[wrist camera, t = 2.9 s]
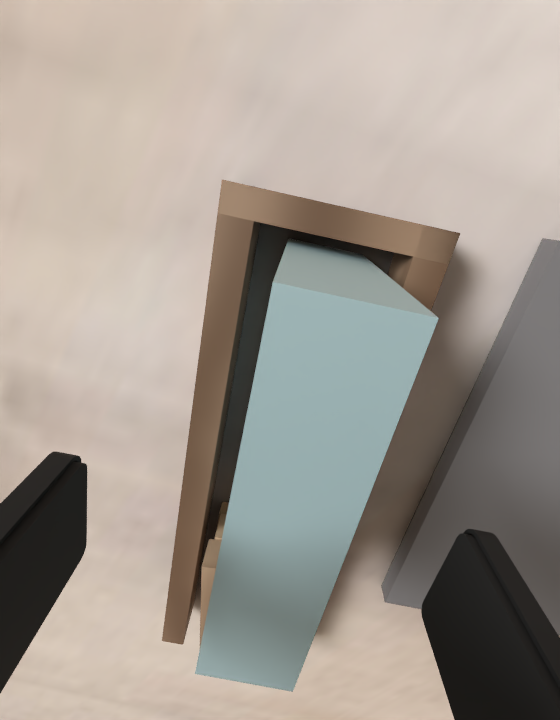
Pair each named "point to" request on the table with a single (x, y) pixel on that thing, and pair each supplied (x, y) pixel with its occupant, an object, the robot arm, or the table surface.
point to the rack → (224, 326)
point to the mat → (501, 455)
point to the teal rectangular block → (308, 455)
